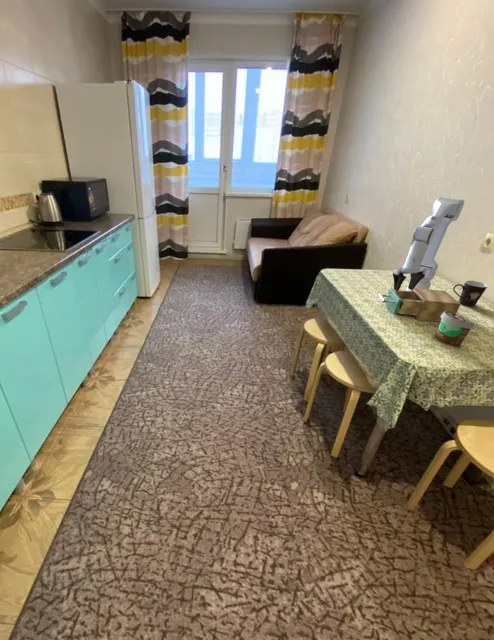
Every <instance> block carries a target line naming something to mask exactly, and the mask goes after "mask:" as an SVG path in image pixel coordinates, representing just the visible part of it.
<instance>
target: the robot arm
mask: <svg viewBox="0 0 494 640" xmlns="http://www.w3.org/2000/svg"><path fill="white" fill-rule="evenodd" d="M464 206H465V200H464V199H458V198H457V199H456V198H448V197H447V198H446V197H441V196H439V197H438V198H437V199H435V202H434V204H433V206H432V210H431V212H432V215H430V216H428V217H427V218H426V219H425V220H424V222H423V223H422V224H421V225H419V226H417V227H416V228H415V229H414V231H413V234H412V237H411V242H410V248H409V251H408V254H407V256H406V258H405V259H406V260H405V262H404V264H403V265H401V267H398V268H394V271H393V272H392V277H393V290H394V291H399V290H401V287H402V285H403V283H404V281H405V280H406V279H407V276H406V274H408V276H409V277H410V278H409V282H408V285H407V288H406V290H405V291H411V290H413V289H414V288H418V289H429V290H430V288H431V284H432V283H431V281H433V279H434V278H435V277H436V273H437V271H438V268H439V263H437V261H436V260H435V257H436V255H437V253H438V251H439V248H440V246H441V243H442V241H443V239H444V237H445V235H446V233H447V230H448V228H449V226H450V225H451V223H452V222H456V221H457V220H458V219H459V217H460V215H461V212H462V210H463V208H464Z"/></svg>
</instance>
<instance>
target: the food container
mask: <svg viewBox="0 0 494 640" xmlns="http://www.w3.org/2000/svg"><path fill="white" fill-rule="evenodd" d="M451 310H452V309H449V310H446V311H445V312H443V314H442V315H441V319H442V320H441V322H440V323H439V326H438V328H437V331H436V334H435V339H437V340H438V341H439V342H441V343H443V344H446V345H448V346H454V347H461V345H462V343H464V340H465V339H466V337H467V336H468V334H469V333H470V331H471V330H473V329H474V326H475V322H468V321H467V320H466V319H464V317H462V316H460V315H457V314H456V315H455V314H453V313H452V312H451Z"/></svg>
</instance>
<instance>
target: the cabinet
mask: <svg viewBox="0 0 494 640" xmlns="http://www.w3.org/2000/svg"><path fill="white" fill-rule="evenodd" d="M411 291H414V292H415V293H416V294H417V295H418V296H419V297H420V298H421V299H422V300H423V301H424V302H423V304H422V307H421V309H420V312H419V314H418V315H413V316H414V317H415V319H416V320H421V321H431V322H438V323H439V322H440V323H441V320H442V319H441V315H442V314H443V312H445V311H446V310H449V309H452V310H451V312H452V313H453V314H455V315H457V313H458V311H459V309H460V307H461V305H462V304H460V303H459V300H457V299H456V298H454V297H453V296H452V295H451V294H450V293H448V292H447V291H446V290H438V289H430V288H429V289H418V288H414V289H413V290H411Z"/></svg>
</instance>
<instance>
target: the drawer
mask: <svg viewBox="0 0 494 640" xmlns="http://www.w3.org/2000/svg"><path fill="white" fill-rule="evenodd" d="M377 297H378V298H379V299H380V300H381V302H382V303H383V304H385V305H386V306H387V308H388V309H389V310H390V311H391V313H392V314H393V315H397V314H399V315H400V314H401V315H410V316H414V315H418V314H419V312H420V309H421V307H422V304H423V302H424V301H423V300H422V299H421V298H420V297H419V296H418V295H417V294H416V293H415V292H414V291H406V290H404V289H403V290H402V289H399V291H395V290H394V288H392V287H391V288H390V287H389V288H388V291H387V294H382V293H378V294H377ZM400 297H401V298H404V301H403V304H402V306H401V308H399V307H400V304H401V301H402V299H401V298H400Z"/></svg>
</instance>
